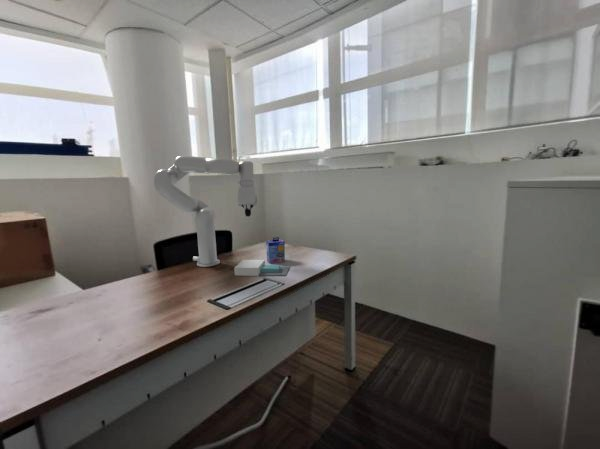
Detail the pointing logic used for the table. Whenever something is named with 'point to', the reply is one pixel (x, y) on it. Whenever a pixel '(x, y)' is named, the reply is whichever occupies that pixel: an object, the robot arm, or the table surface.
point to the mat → (281, 272)
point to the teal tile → (270, 268)
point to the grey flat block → (249, 267)
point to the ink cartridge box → (275, 250)
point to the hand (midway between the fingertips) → (248, 216)
